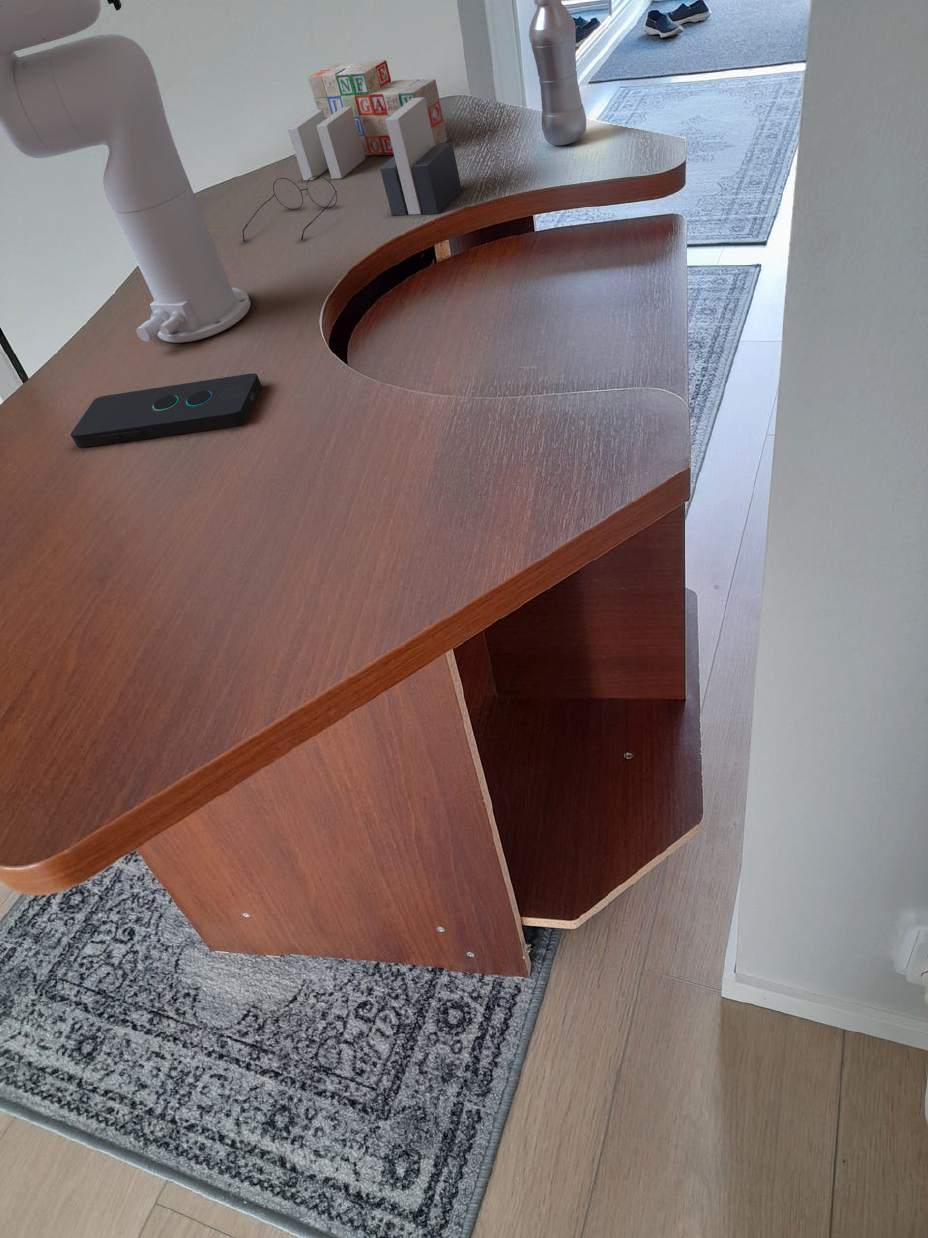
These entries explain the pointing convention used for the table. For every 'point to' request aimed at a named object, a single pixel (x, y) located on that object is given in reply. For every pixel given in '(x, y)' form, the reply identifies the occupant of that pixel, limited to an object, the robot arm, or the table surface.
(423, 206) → the grey books
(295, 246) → the table surface
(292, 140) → the white books
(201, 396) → the smart home device
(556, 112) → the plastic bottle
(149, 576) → the table surface
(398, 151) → the white book
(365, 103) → the stack of blocks
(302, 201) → the eyeglasses
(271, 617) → the table surface
